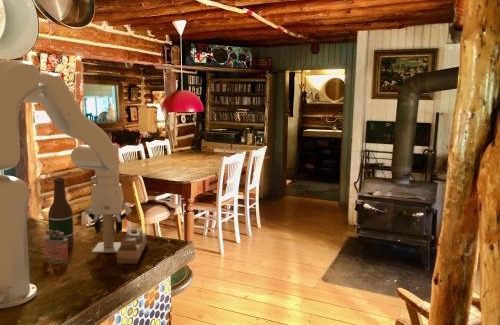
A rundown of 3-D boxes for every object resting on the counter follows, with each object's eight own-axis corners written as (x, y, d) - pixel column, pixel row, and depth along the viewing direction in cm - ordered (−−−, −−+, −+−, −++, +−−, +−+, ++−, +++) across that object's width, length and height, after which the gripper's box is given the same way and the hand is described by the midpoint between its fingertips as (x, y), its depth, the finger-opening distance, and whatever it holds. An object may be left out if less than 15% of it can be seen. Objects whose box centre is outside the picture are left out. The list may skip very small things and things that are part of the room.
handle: (113, 243, 147) (112, 201, 145) (118, 248, 142) (117, 205, 140) (99, 245, 145) (98, 202, 143) (103, 250, 140) (102, 206, 138)
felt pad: (119, 252, 140) (119, 251, 140) (91, 252, 139) (91, 251, 139) (125, 243, 149) (125, 242, 148) (99, 243, 148) (99, 242, 148)
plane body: (137, 263, 131) (136, 240, 130) (117, 263, 130) (116, 240, 129) (146, 243, 149) (146, 223, 148) (129, 243, 148) (128, 223, 147)
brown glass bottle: (78, 243, 147) (76, 176, 143) (66, 251, 139) (63, 180, 136) (57, 242, 148) (54, 175, 144) (44, 250, 140) (41, 179, 136)
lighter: (71, 261, 131) (70, 230, 130) (63, 265, 128) (62, 233, 127) (49, 257, 133) (48, 227, 132) (42, 261, 130) (40, 230, 129)
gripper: (77, 182, 136) (79, 235, 138) (131, 182, 137) (132, 235, 140) (84, 178, 143) (86, 228, 146) (135, 178, 145) (136, 228, 147)
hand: (108, 231), depth 143 cm, fingers open, 6 cm apart
